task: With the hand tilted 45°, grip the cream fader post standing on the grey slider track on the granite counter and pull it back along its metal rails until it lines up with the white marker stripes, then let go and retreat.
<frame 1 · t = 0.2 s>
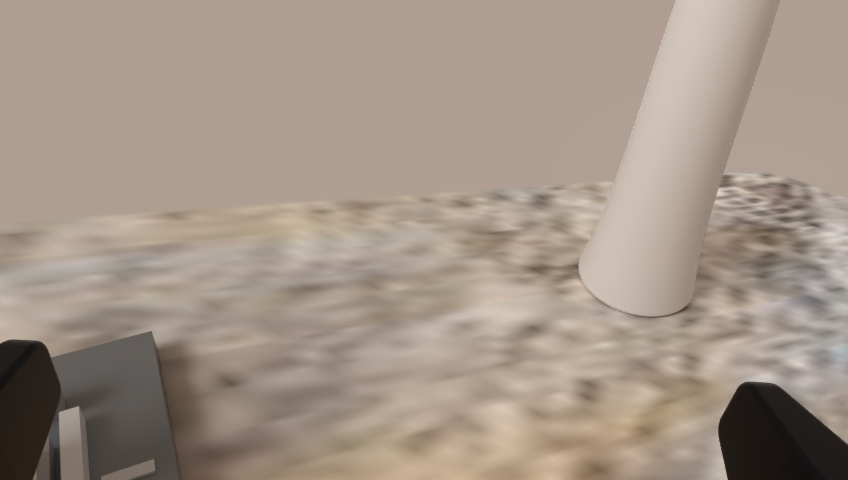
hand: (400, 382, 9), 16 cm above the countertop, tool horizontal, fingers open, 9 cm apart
cosmetic bottle: (633, 280, 35), on the countertop
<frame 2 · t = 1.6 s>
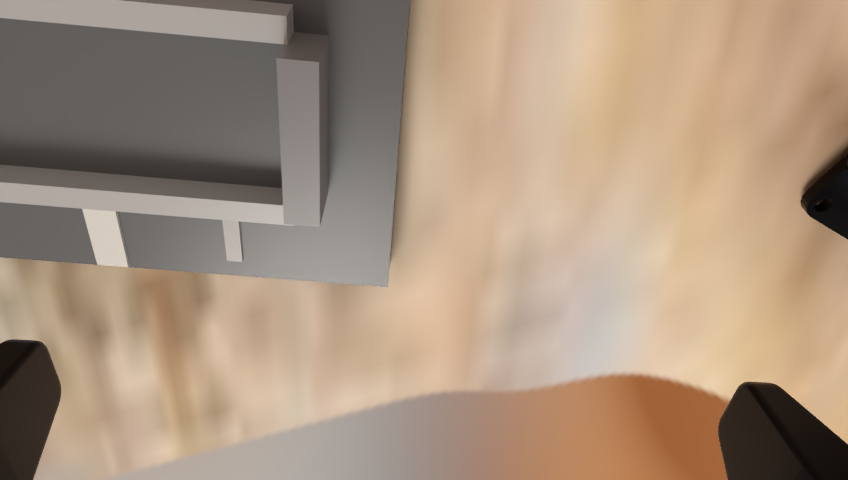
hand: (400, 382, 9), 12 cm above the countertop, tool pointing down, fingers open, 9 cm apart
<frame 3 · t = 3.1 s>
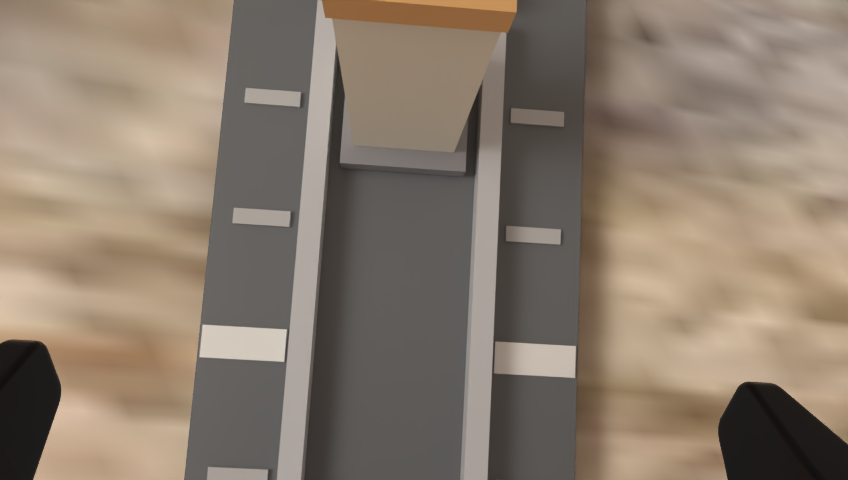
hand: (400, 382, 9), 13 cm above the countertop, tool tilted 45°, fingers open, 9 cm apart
grey slider track: (405, 119, 23), on the countertop
fader: (412, 40, 17), point 6 cm above the countertop, slide at 0.0 cm
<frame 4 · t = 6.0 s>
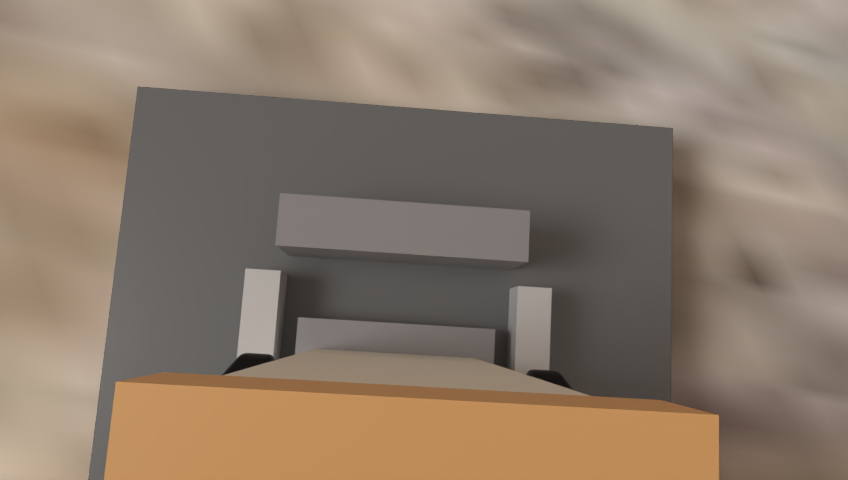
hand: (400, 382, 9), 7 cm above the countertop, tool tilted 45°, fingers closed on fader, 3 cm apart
grey slider track: (389, 421, 15), on the countertop
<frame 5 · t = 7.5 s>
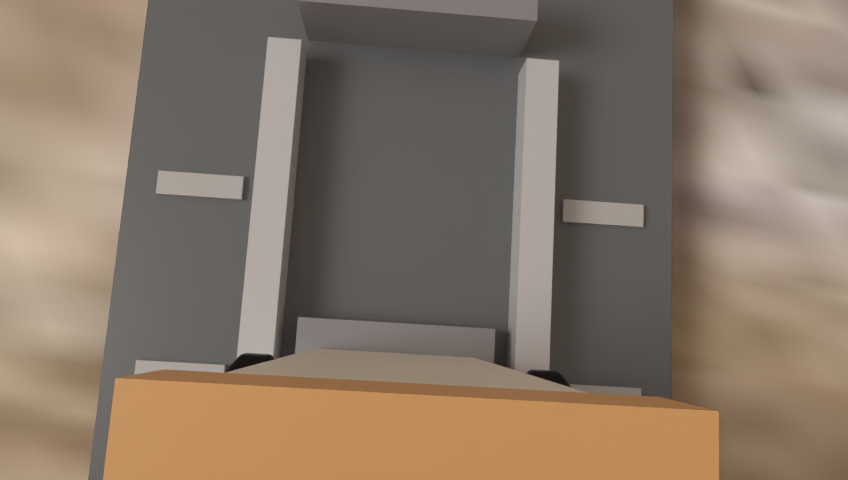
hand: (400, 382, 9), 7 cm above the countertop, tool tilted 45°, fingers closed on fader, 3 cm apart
grey slider track: (403, 210, 16), on the countertop
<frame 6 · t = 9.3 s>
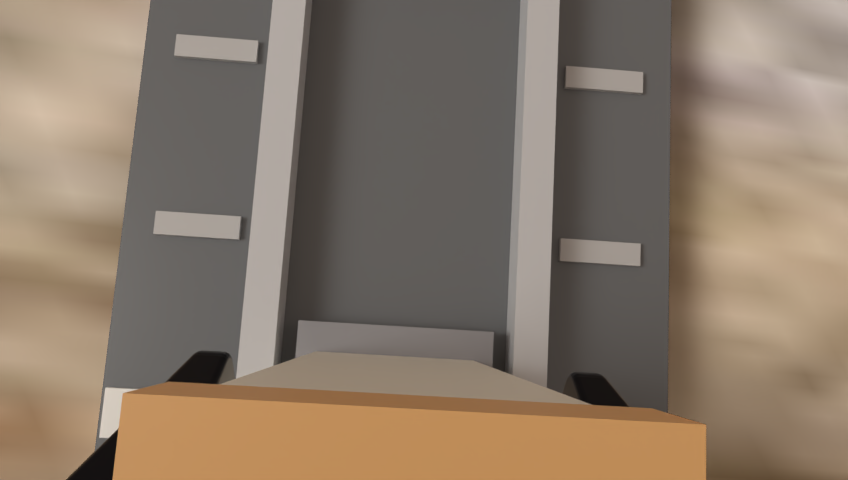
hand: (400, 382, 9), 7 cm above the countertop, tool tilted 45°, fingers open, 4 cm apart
grey slider track: (411, 85, 16), on the countertop
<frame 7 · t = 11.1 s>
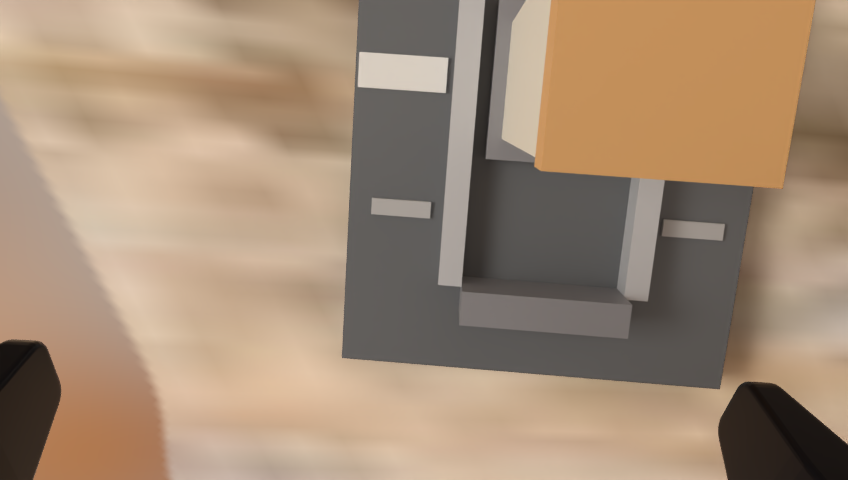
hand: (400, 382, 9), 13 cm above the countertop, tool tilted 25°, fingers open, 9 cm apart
fader: (597, 76, 14), point 6 cm above the countertop, slide at 8.1 cm
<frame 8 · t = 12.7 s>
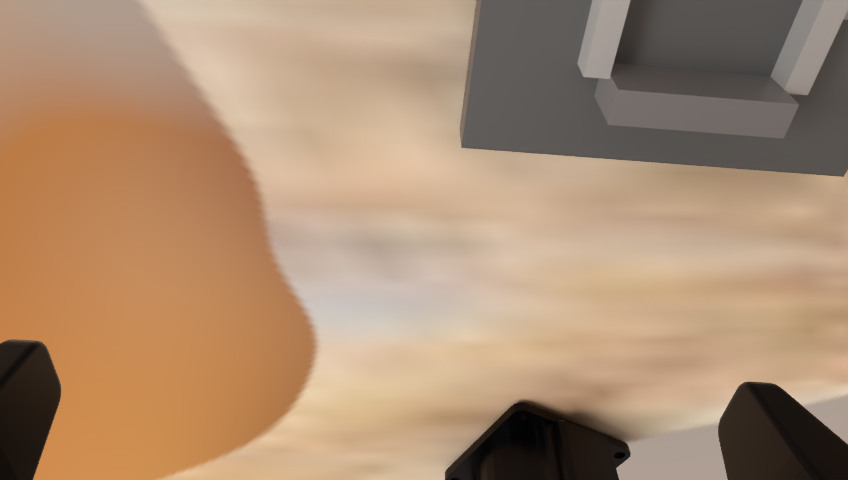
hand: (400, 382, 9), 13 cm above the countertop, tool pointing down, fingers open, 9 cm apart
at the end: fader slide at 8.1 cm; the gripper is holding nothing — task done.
